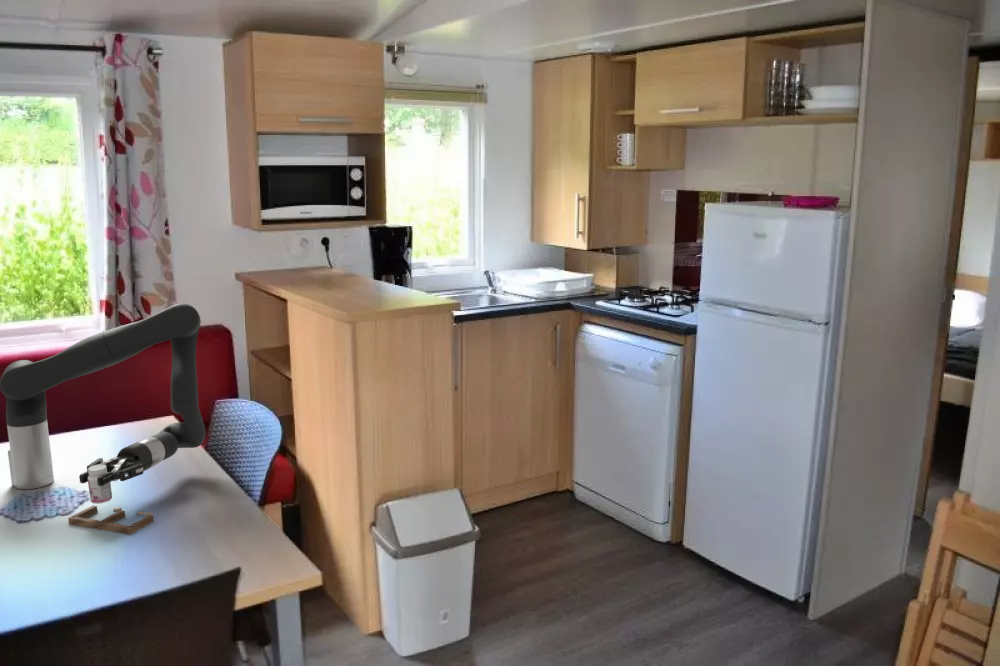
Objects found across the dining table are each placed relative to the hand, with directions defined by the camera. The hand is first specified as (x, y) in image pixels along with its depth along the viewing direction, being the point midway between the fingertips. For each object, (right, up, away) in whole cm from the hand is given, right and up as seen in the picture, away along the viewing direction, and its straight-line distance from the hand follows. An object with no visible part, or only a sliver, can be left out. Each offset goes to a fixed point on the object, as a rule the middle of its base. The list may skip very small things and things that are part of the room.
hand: (90, 480), depth 194 cm
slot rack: (+4, -10, +3) cm, 11 cm away
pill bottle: (+1, -6, +4) cm, 7 cm away
